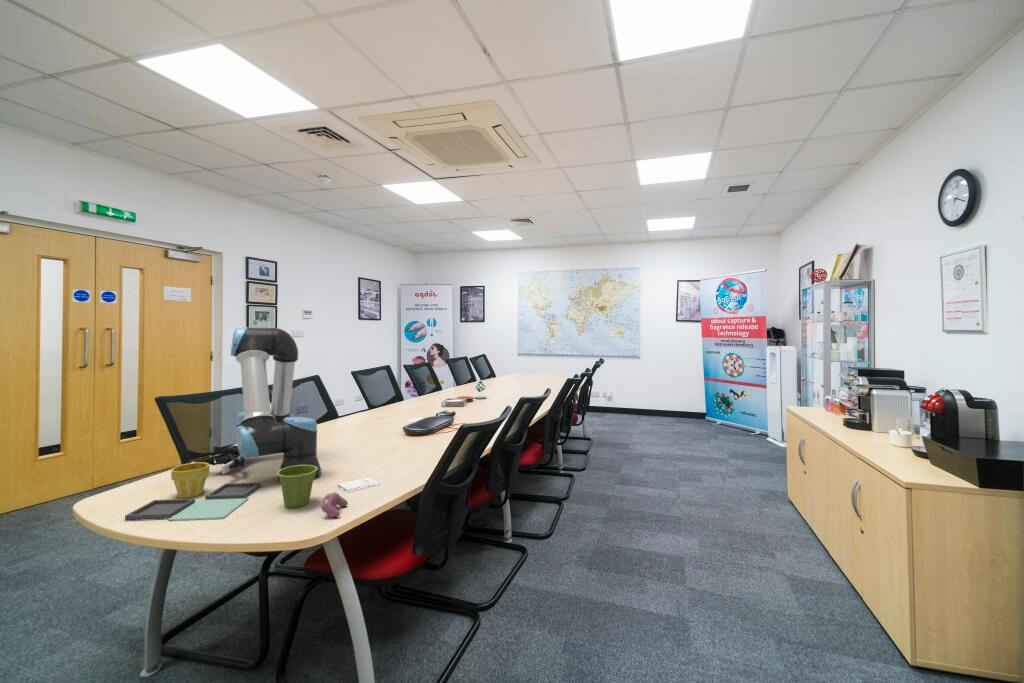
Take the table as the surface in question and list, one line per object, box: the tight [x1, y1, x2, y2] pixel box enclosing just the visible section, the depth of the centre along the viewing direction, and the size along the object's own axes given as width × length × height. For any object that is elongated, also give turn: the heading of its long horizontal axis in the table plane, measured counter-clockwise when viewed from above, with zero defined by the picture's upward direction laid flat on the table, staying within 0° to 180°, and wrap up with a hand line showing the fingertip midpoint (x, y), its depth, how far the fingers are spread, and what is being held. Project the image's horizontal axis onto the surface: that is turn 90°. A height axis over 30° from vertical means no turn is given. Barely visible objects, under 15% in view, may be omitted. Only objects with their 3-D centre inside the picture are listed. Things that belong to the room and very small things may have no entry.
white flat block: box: [337, 477, 380, 491], centre depth 154 cm, size 2×8×12 cm
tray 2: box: [204, 482, 262, 500], centre depth 144 cm, size 12×12×2 cm
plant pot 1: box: [170, 462, 210, 499], centre depth 142 cm, size 10×10×10 cm
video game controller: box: [320, 491, 349, 518], centre depth 130 cm, size 10×5×7 cm, turn 6°
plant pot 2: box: [276, 465, 318, 509], centre depth 136 cm, size 12×12×11 cm
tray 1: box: [124, 498, 196, 521], centre depth 128 cm, size 12×12×2 cm
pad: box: [167, 497, 249, 521], centre depth 130 cm, size 15×15×1 cm
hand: (203, 470), depth 150 cm, fingers open, 13 cm apart
